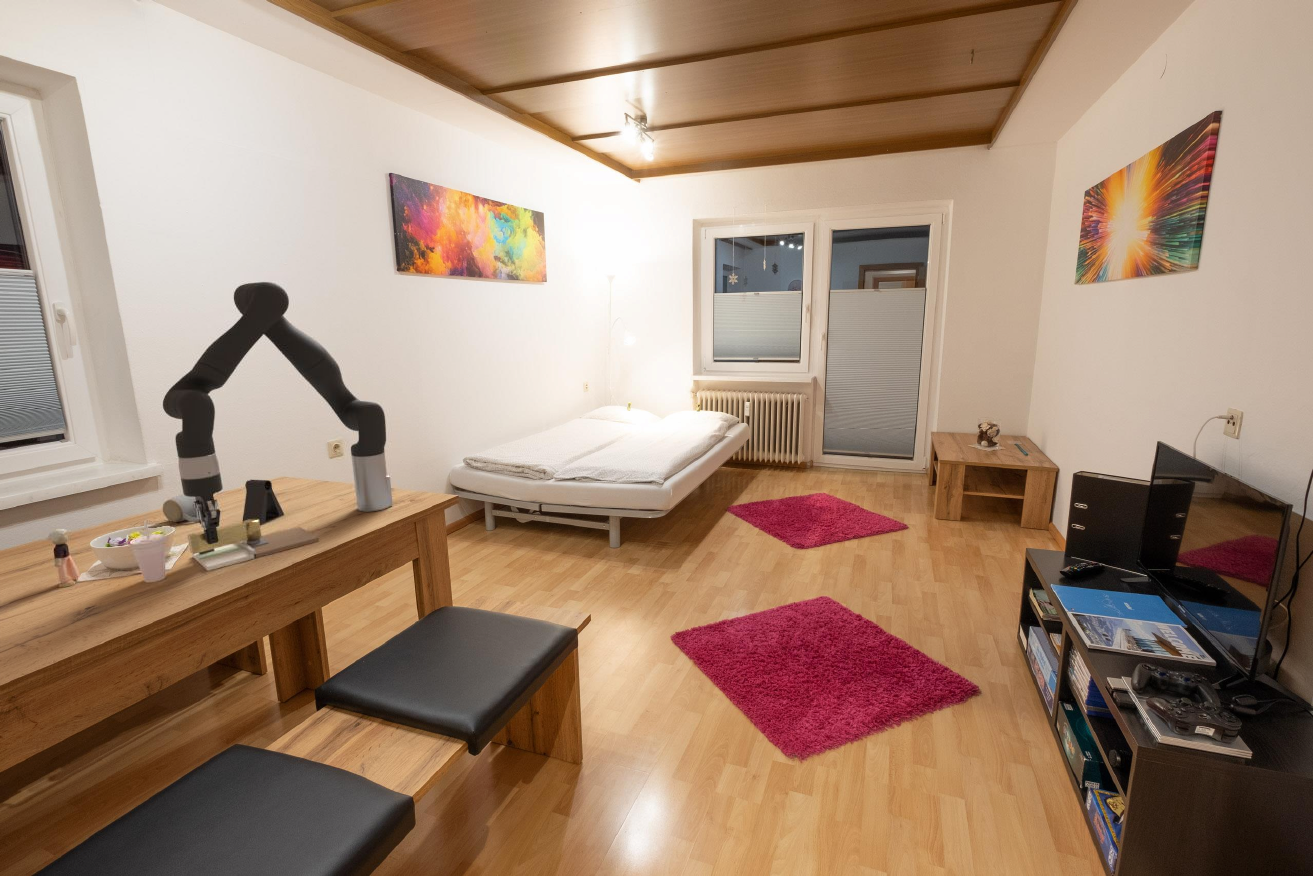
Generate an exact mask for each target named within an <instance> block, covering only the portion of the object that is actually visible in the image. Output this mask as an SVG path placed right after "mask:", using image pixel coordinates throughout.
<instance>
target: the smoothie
mask: <svg viewBox="0 0 1313 876" xmlns="http://www.w3.org/2000/svg"><path fill="white" fill-rule="evenodd" d="M143 524H144V531H145V535H143V536H140V537H137V538H134V539H132V540H130V541H129V548H131V549H132V551H133V554H134V556H135V559H136V561H137V565H138V567H139V569H140V573H141V575H142V578H143V580H144V583H156V582H159V581H163V580H164V579H165V578H166V577H167V575H166V571H167V570H166V541H167V538H166V534H162V533H160V534H159V533H157V534H150V530H149V526H148V521H147V520H144V521H143Z"/></svg>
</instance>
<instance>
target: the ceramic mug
mask: <svg viewBox="0 0 1313 876" xmlns="http://www.w3.org/2000/svg"><path fill="white" fill-rule="evenodd" d="M193 501H196V500H195V497H188V496H185V495H184V494H183V493H182V494H179V495H176V496H173V497H171V498H168V500H166V501H165V502H163V504H162V505H163V506H162V513H163V515H164V516H165V518H166V519H168V521H170V522H172V523H180V522H184V521H188V522H191V523H192V522H193V523H197V522H198V523H199V520H198V517H197V514H196V511H195V508H194V506H193Z"/></svg>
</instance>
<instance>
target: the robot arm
mask: <svg viewBox="0 0 1313 876" xmlns="http://www.w3.org/2000/svg"><path fill="white" fill-rule="evenodd" d="M233 302H234V305H235V306H236V309H237V310H238V311H239V314H241V315H242V316H241V317H240V318H239V319H238V320H237V321H236V322H235V323H234V324H233V326H231V327H230V328H229V329H228V330H226V331H225V332H224V333H223V334H221V335H220V336H219V337H218V338H217V339H215V340H214V341H213V342H212V343H211V344H210V345H208V347H207V348H206V349H205V350H204V352H203V353H202V355H201V356H200V358H198V360H197V362H195V364H194V366H193V367H192V368H191V370H189V371H188V372H187V373H186V374H185V375H184V376H182V377H181V378H180V379H179V380H178V381H177V382H176V383H174V384H173V385H172V386H171V387H170V388H169V390H168V391H167V392H166V393H165V395H164V397H163V401H162V408H163V410H164V413H166V415H168V416H169V417H171V418H174V419H178V420H181V422H182V423H181V431H179V432H177V433H176V435H175V445H176V446H175V447H176V452H177V458H178V469H179V476H180V482H181V488H182V494H184V495H185V496H188V497H195V500H196V501H193V506H194V508H195V511H196V514H197V516H196V517H198V520H199V522H198V523H199V525H201V528H202V529H203V531H204V534H205V539H206V542H207V543H208V544H213V543H217V542H218V535H217V529H216V528H219V527H220V519H221V510H220V509H219V508H218V507H219V503H218V499H215V497H214V494H216V493H219V492H221V491H222V490H223V489H224V487H223V483H222V475H221V470H220V464H219V460H218V457H217V453H216V449H215V442H214V437H213V434H214V429H215V419H216V417H215V416H216V410H215V409H216V408H215V404H214V402H213V400H212V398H211V396H210V395H209V394H210V393H211V392H212V391H215V390H219V389H221V388H222V387H223V386H224V385H225V384H226V383H227V382H228V380H229V379H230V378H231V376H232V375H233V373H234V371H235V370H236V369H237V367H238V366H239V364H240V363H241V362H242V360H243V359H244V357H245V356H247V354H248V353H249V351H250V350H251V349H252V348H253V347H254V346H255V344H256V343H258V341H259V340H260V339H261V338H262V337H263V336H265V337H266V338H267V339H268V340H269V341H270V342H271V343H272V344H273V345H274V346H275V347H276V349H278V351H280V353H281V354H282V355H283V356H284V358H286V359H287V360H288V362H290V364H291V365H292V366H293V367H294V368H295V369H296V370H297V372H298V373H299V375H301V376H302V378H304V379H305V380H306V381H307V383H309V384H310V385H311V386H312V388H314V390H316V392H317V393H318V394H319V395H320V396H321V397H322V398H323V399H324V400H325V402H326V403H327V404H328V405H329V407H330V408H331V409H332V411H333V412H334V413H335V415H336V416H337V417H338V419H339V420H340V422H342V424H343V426H345V427H346V428H347V429H349V430H351V431H353V432H358V440H357V442H356V443H354V444H352V445H351V446H350V455H351V463H352V464H351V465H352V473H353V480H354V488H355V489H354V490H355V497H356V499H355V500H356V507H357V510H358V511H360V512H365V513H366V512H367V513H369V512H376V511H381V510H385V509H387V508H390V507H392V506H394V505H393V504H394V503H393V493H392V485H391V477H390V476H389V474H388V473H387V463H386V454H385V451H386V450H385V446H386V443H387V429H386V428H387V426H386V416H385V412H384V409H383V407H382V406H381V405H380V404H378V403H377V402H374V401H366V400H365V401H363V400H360V399H358V398H357V397H356V396H355V395H354V394H353V393H352V392H351V391H350V390H349V388H347V386H346V385H345V382H344V380H343V376H342V373H341V368H340V366H339V364H338V362H337V361H336V360H335V358H333V356H332V355H331V354H330V353H329V351H328V350H327V349H326V348H325V347H324V346H323V345H322V344H321V343H320V342H318V341H317V340H316V339H314V337H313V338H312V337H311V336H310V335H309V334H307V333H305V332H303V331H302V330H301V329H299V328H297V327H296V326H295V325H293V323H291V322H290V320H288V319H287V318H286V317H285V316H284V314H285V313H287V311H288V308H289V304H290V298H289V296H288V293H287V291H286V290H285V289H284V288H283V287H282V286H281V285H279V284H277V283H275V282H270V281H267V282H266V281H259V282H248V283H243V284H241V285H239V286H238V287H236V289H235V290H234V292H233Z"/></svg>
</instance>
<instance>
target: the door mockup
mask: <svg viewBox="0 0 1313 876" xmlns="http://www.w3.org/2000/svg"><path fill="white" fill-rule="evenodd" d="M261 536H262V537H261V538H259V539H257V540H251V541H246V540H245V541H242V542H238V543H234V544H230V545H226V546H222V547H219V548H215V549H211V550H207V551H203V552H200V553H196V554H192V553H191V554H192V558H193V559H194V560H196V561H197V562H198V563H199V565H201V566H202V567H203V568H204V569H205V570H206V571H212V570H216V569H220V568H223V567H227V566H231V565H235V564H239V563H242V562H243V563H244V562H245V561H250V560H253V559H255V558H256V559H257V558H261V557H265V556H268V555H272V554H276V553H279V552H280V553H281V552H283V551H287V550H290V549H293V548H298V547H301V546H305V545H309V544H313V543H317V542H320V540H319V539H320V538H319V537H318V536H317V535H315V534H313V533H311V532H310V531H308V530H306V529H305V528H303V527H301V526H297V527H293V528H288V529H285V530H281V531H276V532H272V533H269V534H265V535H264V534H263V535H261Z"/></svg>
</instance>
